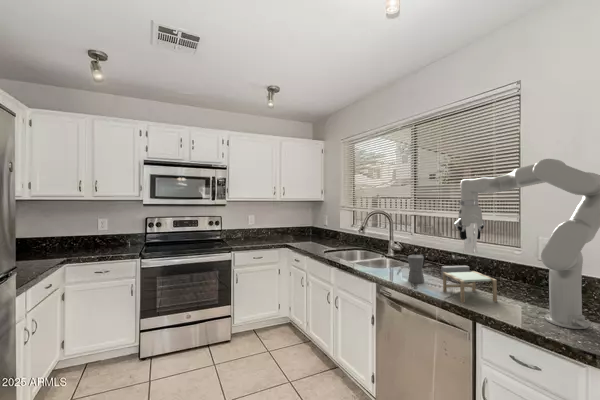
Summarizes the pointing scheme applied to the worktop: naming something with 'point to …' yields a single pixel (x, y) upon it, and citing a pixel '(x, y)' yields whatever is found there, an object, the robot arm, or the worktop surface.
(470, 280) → the trapdoor
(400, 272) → the worktop surface
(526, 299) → the worktop surface
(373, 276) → the worktop surface
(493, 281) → the trapdoor stand
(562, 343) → the worktop surface
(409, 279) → the coffeepot
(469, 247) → the beer glass
